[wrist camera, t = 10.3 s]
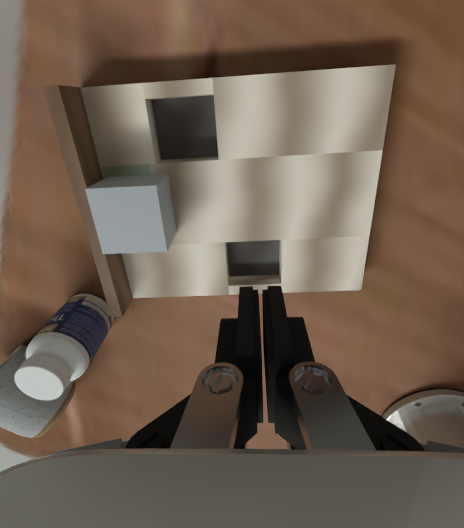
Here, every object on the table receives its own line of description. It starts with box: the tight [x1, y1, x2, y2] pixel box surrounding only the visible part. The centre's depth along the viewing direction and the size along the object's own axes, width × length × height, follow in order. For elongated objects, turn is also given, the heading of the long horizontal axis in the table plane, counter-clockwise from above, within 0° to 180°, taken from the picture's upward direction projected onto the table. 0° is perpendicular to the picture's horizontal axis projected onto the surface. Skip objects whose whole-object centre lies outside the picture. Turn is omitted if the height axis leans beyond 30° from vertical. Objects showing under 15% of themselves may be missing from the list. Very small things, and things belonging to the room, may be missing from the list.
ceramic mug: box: [0, 345, 76, 438], centre depth 34 cm, size 11×8×8 cm
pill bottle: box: [14, 294, 114, 400], centre depth 29 cm, size 5×5×10 cm
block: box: [85, 174, 177, 254], centre depth 24 cm, size 5×5×4 cm
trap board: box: [43, 64, 396, 317], centre depth 25 cm, size 23×18×5 cm
